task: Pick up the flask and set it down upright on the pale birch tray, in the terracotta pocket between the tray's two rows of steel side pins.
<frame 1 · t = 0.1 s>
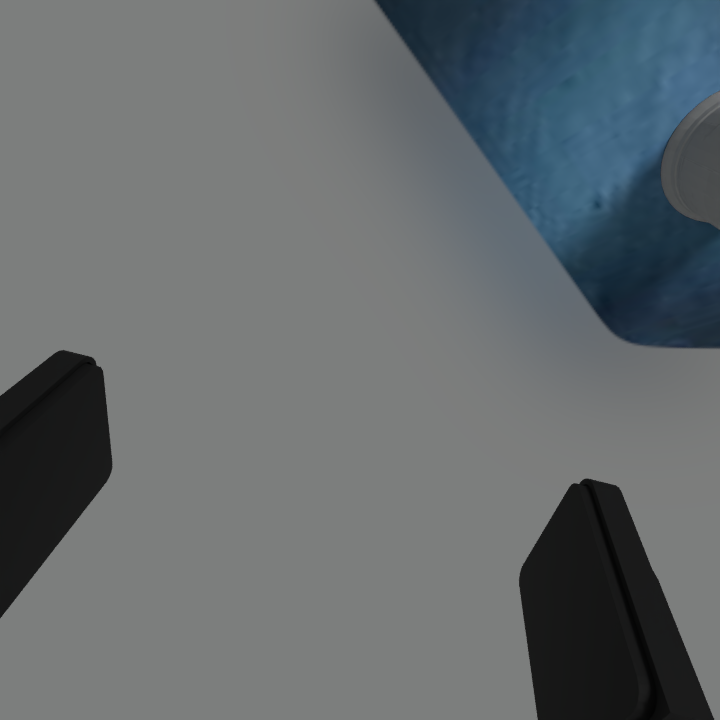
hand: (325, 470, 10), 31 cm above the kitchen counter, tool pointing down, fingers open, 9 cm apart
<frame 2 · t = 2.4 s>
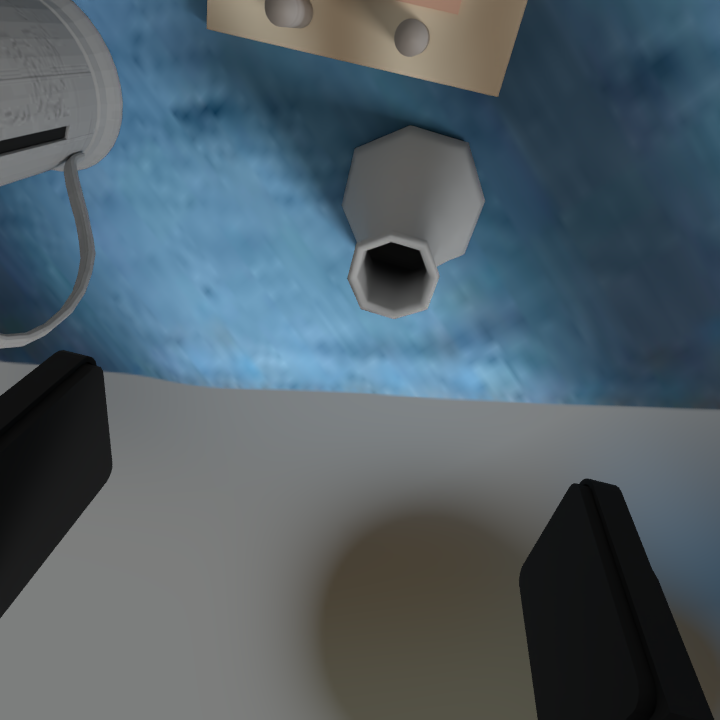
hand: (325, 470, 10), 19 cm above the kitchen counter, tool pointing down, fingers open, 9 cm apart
flask: (412, 200, 26), on the kitchen counter
glass holder: (84, 127, 27), on the kitchen counter
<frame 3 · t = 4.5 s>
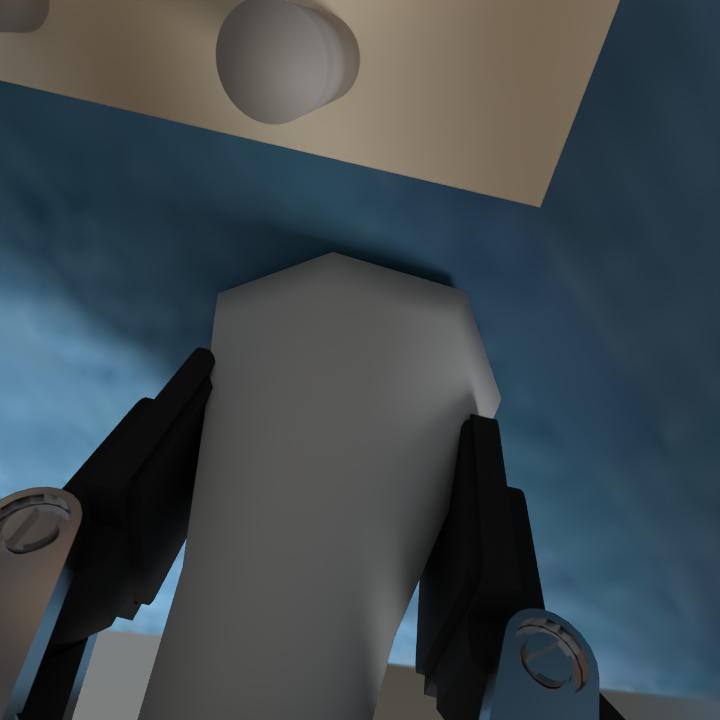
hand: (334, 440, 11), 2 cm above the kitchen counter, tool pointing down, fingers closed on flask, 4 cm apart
flask: (350, 384, 13), on the kitchen counter, touching gripper
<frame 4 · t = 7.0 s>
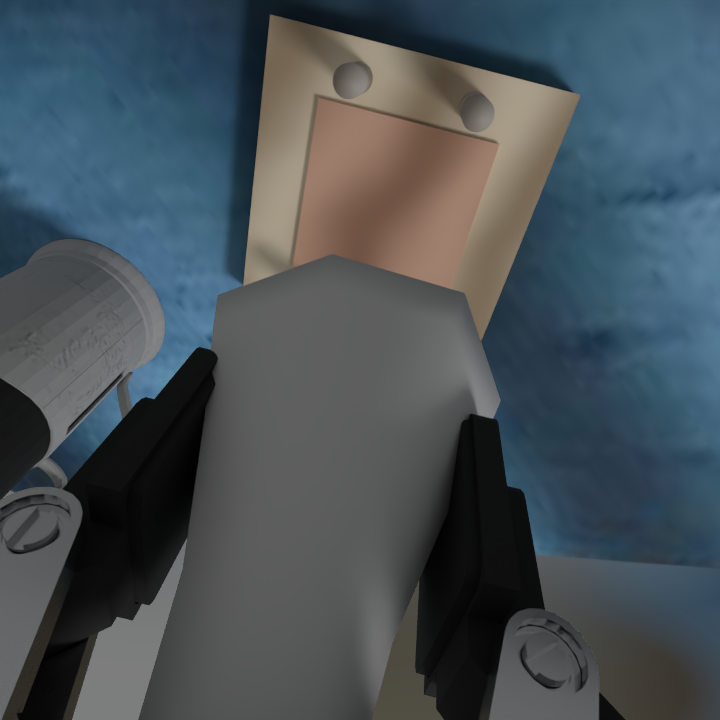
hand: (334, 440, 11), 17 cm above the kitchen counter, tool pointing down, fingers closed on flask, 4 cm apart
pin tray: (389, 204, 25), on the kitchen counter
flask: (350, 385, 13), point 15 cm above the kitchen counter, touching gripper
glass holder: (130, 341, 32), on the kitchen counter
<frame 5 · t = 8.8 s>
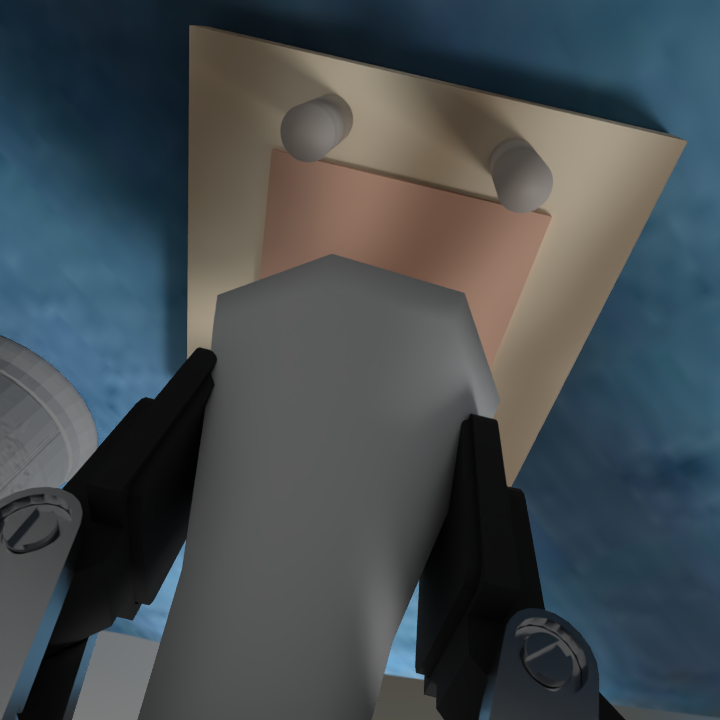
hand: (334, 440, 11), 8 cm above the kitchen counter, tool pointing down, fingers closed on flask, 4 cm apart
pin tray: (385, 291, 17), on the kitchen counter
flask: (350, 385, 13), point 6 cm above the kitchen counter, touching gripper
glass holder: (56, 448, 25), on the kitchen counter
when the fingers open (5 cm above the kitchen counter, at t = 9.8 s): flask drops 1 cm, resting on pin tray.
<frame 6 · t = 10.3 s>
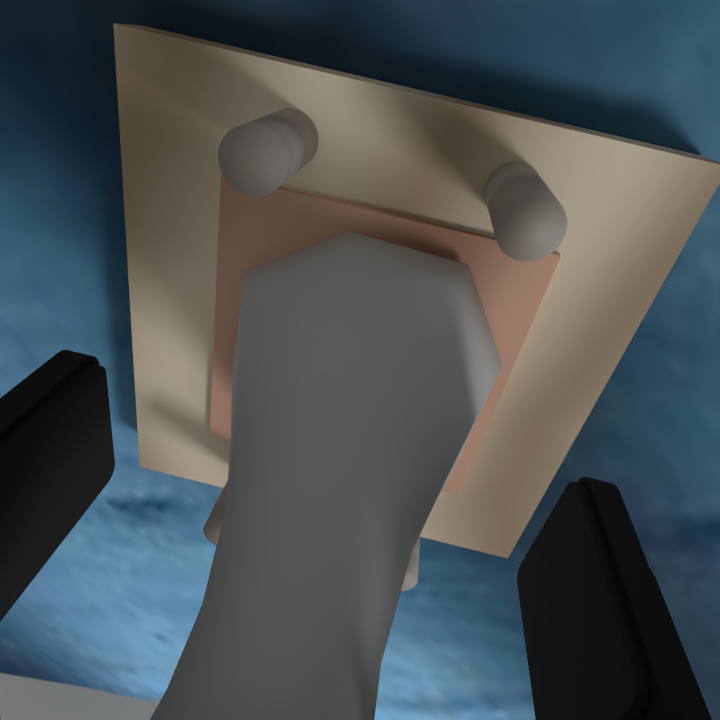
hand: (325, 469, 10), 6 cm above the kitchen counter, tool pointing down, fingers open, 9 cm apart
pin tray: (364, 334, 15), on the kitchen counter
flask: (364, 355, 14), point 1 cm above the kitchen counter, touching pin tray
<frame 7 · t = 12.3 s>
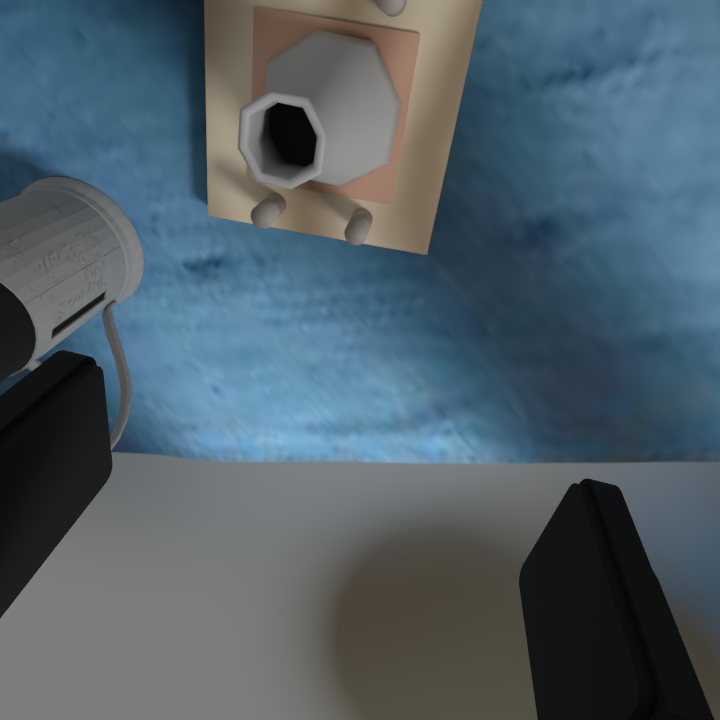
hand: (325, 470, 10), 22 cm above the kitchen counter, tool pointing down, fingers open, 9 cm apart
pin tray: (332, 110, 27), on the kitchen counter
flask: (331, 112, 26), point 1 cm above the kitchen counter, touching pin tray
glass holder: (113, 276, 34), on the kitchen counter
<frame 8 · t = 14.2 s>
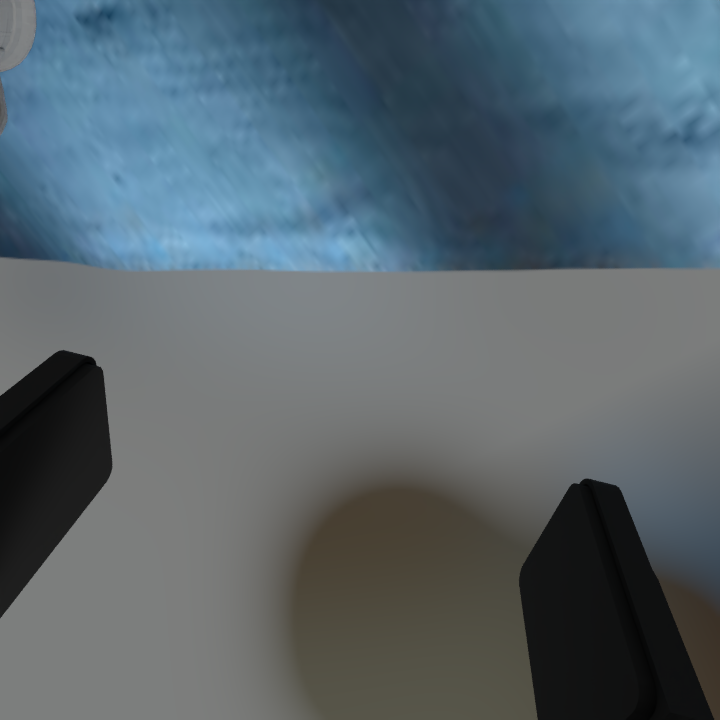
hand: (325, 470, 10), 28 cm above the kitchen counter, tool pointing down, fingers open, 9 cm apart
glass holder: (7, 33, 33), on the kitchen counter
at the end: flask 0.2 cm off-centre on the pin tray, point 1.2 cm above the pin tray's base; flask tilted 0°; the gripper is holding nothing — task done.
